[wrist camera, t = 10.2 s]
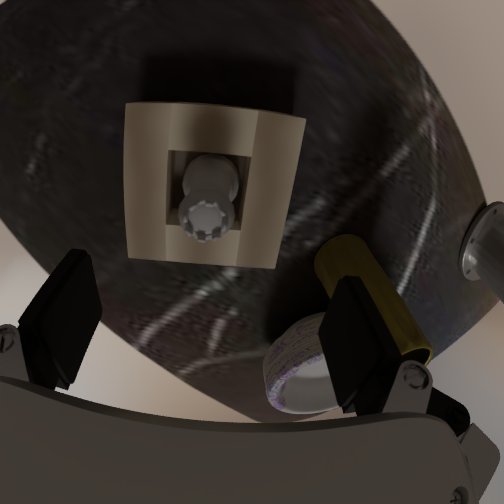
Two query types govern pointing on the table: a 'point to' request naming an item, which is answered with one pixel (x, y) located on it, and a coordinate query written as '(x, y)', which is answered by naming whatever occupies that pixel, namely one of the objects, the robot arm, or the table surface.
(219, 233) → the rook chess piece
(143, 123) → the socket block
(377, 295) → the vase
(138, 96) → the table surface
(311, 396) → the paper bowls
